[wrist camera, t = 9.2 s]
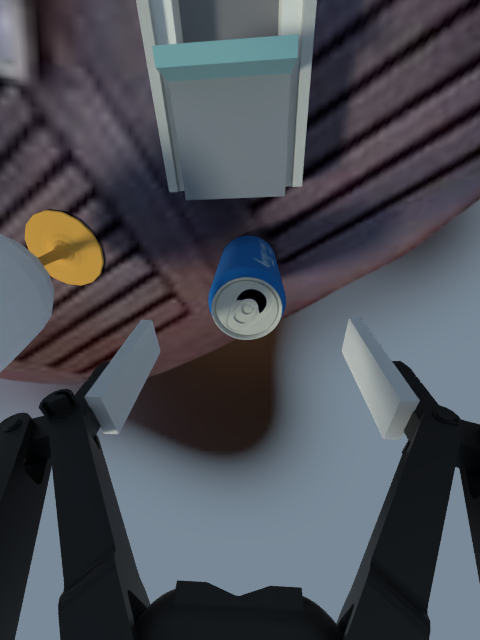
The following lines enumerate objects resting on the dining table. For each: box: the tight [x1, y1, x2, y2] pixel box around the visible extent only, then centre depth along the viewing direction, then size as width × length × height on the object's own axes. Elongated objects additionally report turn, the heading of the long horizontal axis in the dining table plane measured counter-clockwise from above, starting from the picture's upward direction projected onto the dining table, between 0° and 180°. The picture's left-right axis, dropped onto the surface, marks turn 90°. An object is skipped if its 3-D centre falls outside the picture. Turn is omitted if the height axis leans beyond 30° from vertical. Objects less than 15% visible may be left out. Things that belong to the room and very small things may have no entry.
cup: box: [0, 210, 104, 372], centre depth 23 cm, size 12×12×17 cm
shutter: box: [152, 34, 299, 200], centre depth 19 cm, size 9×9×4 cm
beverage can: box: [208, 235, 286, 340], centre depth 25 cm, size 6×6×12 cm
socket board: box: [136, 0, 317, 192], centre depth 19 cm, size 12×20×4 cm, turn 2°
